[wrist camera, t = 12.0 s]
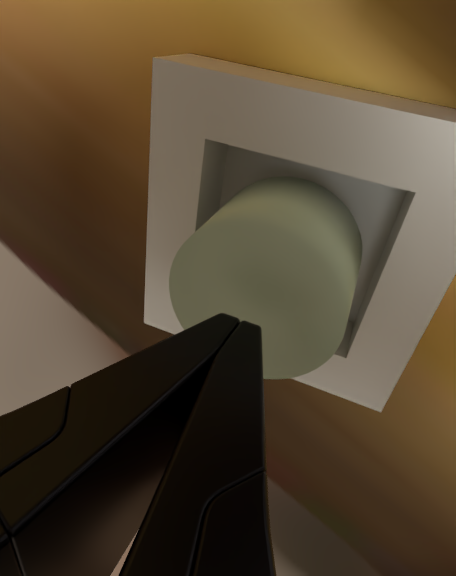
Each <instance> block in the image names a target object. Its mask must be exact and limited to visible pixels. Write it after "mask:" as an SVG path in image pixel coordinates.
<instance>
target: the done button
mask: <svg viewBox="0 0 456 576" xmlns="http://www.w3.org/2000/svg"><path fill="white" fill-rule="evenodd" d="M361 260H362V240H361V234H360V231H359V228H358V225H357V223H356V221H355V219H354V217H353V215H352V214H351V212H350V211H349V209H348V208H347V207H346V206H345V204H344V203H343V202H342V201H341V200H340V199H339V198H338V197H337V196H335V195H334V194H333V193H332V192H330V191H329V190H327V189H326V188H324V187H323V186H320V185H318V184H316V183H314V182H312V181H309V180H306V179H302V178H297V177H288V176H278V177H270V178H265V179H262V180H259V181H256V182H254V183H252V184H250V185H248V186H246V187H245V188H243V189H242V190H241V191H239V192H238V193H237V194H236V195H235V196H234V197H233V198H232V199H231V200H229V201H228V202H227V203H226V204H225V205H224V206H223V207H222V208H221V209H220V210H219V211H217V212H216V213H215V214H214V215H213V216H212V217H211V218H210V219H209V220H208V221H207V222H206V223H204V224H203V225H202V226H201V227H200V228H199V229H198V230H197V231H196V232H195V233H194V234H192V235H191V236H190V237H189V238H188V239H187V240H186V241H185V242H184V243H183V245H182V246H181V247H180V249H179V250H178V251H177V253H176V255H175V258H174V260H173V262H172V266H171V269H170V275H169V293H170V299H171V303H172V306H173V309H174V312H175V314H176V317H177V319H178V321H179V322H180V324H181V326H182V328H183V329H184V330H185V329H187V328H190V327H192V326H194V325H196V324H198V323H200V322H202V321H204V320H206V319H208V318H210V317H212V316H215V315H217V314H219V313H225V314H228V315H231V316H234V317H237V318H239V319H240V322H241V321H243V320H245V321H248V322H251V323H254V324H256V325H259V326H260V327H261V329H262V354H263V378H264V379H288V378H293V377H298V376H301V375H304V374H307V373H309V372H311V371H313V370H315V369H317V368H319V367H320V366H322V365H323V364H324V363H326V362H327V361H328V360H329V359H330V358H331V357H332V356H333V354H334V353H335V352H336V350H337V349H338V347H339V345H340V343H341V341H342V339H343V337H344V333H345V330H346V326H347V322H348V317H349V313H350V309H351V304H352V300H353V296H354V292H355V287H356V283H357V279H358V274H359V270H360V266H361Z"/></svg>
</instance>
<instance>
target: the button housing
mask: <svg viewBox="0 0 456 576" xmlns="http://www.w3.org/2000/svg"><path fill="white" fill-rule="evenodd" d="M278 176H288V177H297V178H302V179H306V180H309V181H312V182H314V183H316V184H318V185H320V186H323V187H324V188H326V189H327V190H329V191H330V192H332V193H333V194H334V195H335V196H337V197H338V198H339V199H340V200H341V201H342V202H343V203H344V204H345V206H346V207H347V208H348V209H349V211H350V212H351V214H352V215H353V217H354V219H355V221H356V223H357V225H358V228H359V231H360V234H361V240H362V260H361V266H360V270H359V274H358V279H357V283H356V287H355V292H354V296H353V300H352V304H351V309H350V313H349V317H348V322H347V326H346V330H345V333H344V337H343V339H342V341H341V343H340V345H339V347H338V349H337V350H336V352H335V353H334V354H333V356H332V357H331V358H330V359H329V360H328V361H327V362H326V363H324V364H323V365H322V366H320V367H319V368H317V369H315V370H313V371H311V372H309V373H307V374H304V375H301V376H298V377H293V378H291V379H294V380H297V381H299V382H302V383H305V384H307V385H310V386H313V387H315V388H318V389H320V390H323V391H326V392H328V393H331V394H334V395H336V396H339V397H342V398H344V399H347V400H350V401H352V402H355V403H358V404H360V405H363V406H366V407H368V408H371V409H373V410H376V411H379V412H381V411H382V409H383V407H384V406H385V404H386V402H387V400H388V398H389V396H390V395H391V393H392V391H393V389H394V387H395V385H396V383H397V382H398V380H399V378H400V376H401V374H402V372H403V370H404V369H405V367H406V365H407V363H408V361H409V359H410V358H411V356H412V354H413V352H414V350H415V348H416V346H417V345H418V343H419V341H420V339H421V337H422V335H423V334H424V332H425V330H426V328H427V326H428V324H429V322H430V321H431V319H432V317H433V315H434V313H435V311H436V309H437V308H438V306H439V304H440V302H441V300H442V298H443V297H444V295H445V293H446V291H447V289H448V287H449V285H450V284H451V282H452V280H453V278H454V276H455V274H456V109H454V108H449V107H444V106H439V105H435V104H430V103H425V102H420V101H416V100H411V99H406V98H401V97H396V96H392V95H387V94H382V93H377V92H373V91H368V90H363V89H358V88H353V87H349V86H344V85H339V84H334V83H330V82H325V81H320V80H315V79H310V78H306V77H301V76H296V75H291V74H286V73H282V72H277V71H272V70H267V69H263V68H258V67H253V66H248V65H243V64H239V63H234V62H229V61H224V60H220V59H215V58H210V57H205V56H200V55H196V54H191V53H188V54H179V55H169V56H160V57H153V65H152V95H151V125H150V155H149V184H148V214H147V244H146V274H145V303H144V323H146V324H148V325H151V326H153V327H156V328H159V329H161V330H164V331H167V332H169V333H172V334H177V333H179V332H181V331H183V330H184V329H183V328H182V326H181V324H180V322H179V321H178V319H177V317H176V314H175V312H174V309H173V306H172V303H171V299H170V293H169V275H170V269H171V266H172V262H173V260H174V258H175V255H176V253H177V251H178V250H179V249H180V247H181V246H182V245H183V243H184V242H185V241H186V240H187V239H188V238H189V237H190V236H191V235H192V234H194V233H195V232H196V231H197V230H198V229H199V228H200V227H201V226H202V225H203V224H204V223H206V222H207V221H208V220H209V219H210V218H211V217H212V216H213V215H214V214H215V213H216V212H217V211H219V210H220V209H221V208H222V207H223V206H224V205H225V204H226V203H227V202H228V201H229V200H231V199H232V198H233V197H234V196H235V195H236V194H237V193H238V192H239V191H241V190H242V189H243V188H245V187H246V186H248V185H250V184H252V183H254V182H256V181H259V180H262V179H265V178H270V177H278Z"/></svg>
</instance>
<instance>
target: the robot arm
mask: <svg viewBox="0 0 456 576" xmlns="http://www.w3.org/2000/svg"><path fill="white" fill-rule="evenodd" d="M266 470H267V466H266V438H265V410H264V382H263V354H262V329H261V327H260V326H259V325H256V324H254V323H251V322H248V321H245V320H243V321H241V322H240V319H239V318H237V317H234V316H231V315H228V314H225V313H219V314H217V315H215V316H212V317H210V318H208V319H206V320H204V321H202V322H200V323H198V324H196V325H194V326H192V327H190V328H187V329H185V330H183V331H181V332H179V333H177V334H175V335H173V336H171V337H169V338H167V339H165V340H162V341H160V342H158V343H156V344H154V345H152V346H150V347H148V348H146V349H144V350H142V351H140V352H137V353H135V354H133V355H131V356H129V357H127V358H125V359H123V360H121V361H119V362H117V363H114V364H113V365H110V366H109V367H106V368H104V369H102V370H100V371H98V372H96V373H94V374H92V375H90V376H88V377H85V378H83V379H81V380H79V381H77V382H75V383H73V384H71V387H68V386H66V387H64V388H62V389H60V390H58V391H56V392H54V393H52V394H49V395H47V396H45V397H43V398H41V399H39V400H36V401H34V402H32V403H30V404H27V405H25V406H23V407H21V408H19V409H16V410H14V411H12V412H9V413H7V414H4V415H2V416H0V576H110V575H111V573H112V572H113V570H114V568H115V567H116V565H117V564H118V562H119V560H120V559H121V557H122V555H123V554H124V552H125V550H126V549H127V547H128V545H129V544H130V542H131V541H132V539H133V537H134V536H135V534H136V533H137V535H136V537H135V539H134V541H133V544H132V546H131V548H130V551H129V553H128V555H127V557H126V560H125V562H124V564H123V567H122V569H121V571H120V573H119V576H276V570H275V563H274V556H273V548H272V540H271V533H270V519H269V505H268V487H267V474H266ZM138 529H139V530H138ZM137 531H138V532H137Z"/></svg>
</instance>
